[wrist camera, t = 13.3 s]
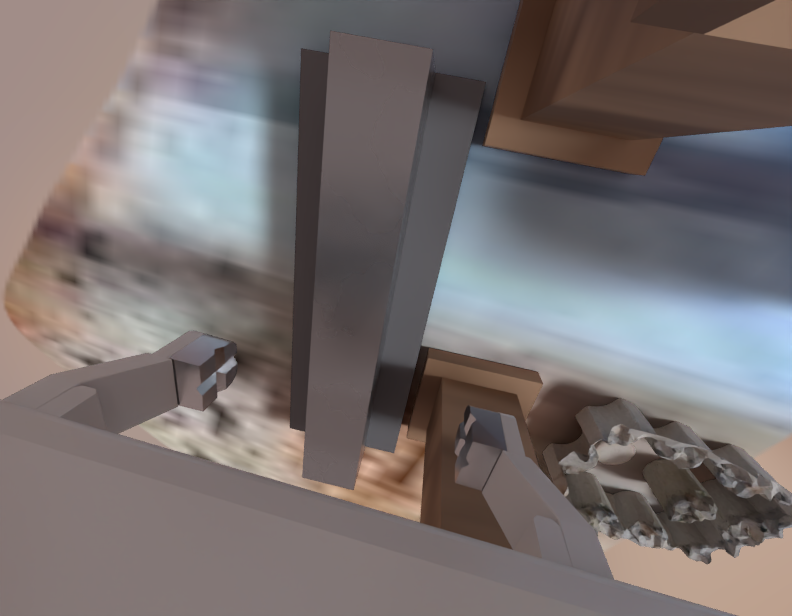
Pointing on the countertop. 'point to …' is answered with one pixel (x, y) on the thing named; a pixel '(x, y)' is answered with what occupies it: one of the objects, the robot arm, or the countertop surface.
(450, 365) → the post
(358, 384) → the rail
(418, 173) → the grey flat bar
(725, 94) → the post
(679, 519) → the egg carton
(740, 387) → the countertop surface
